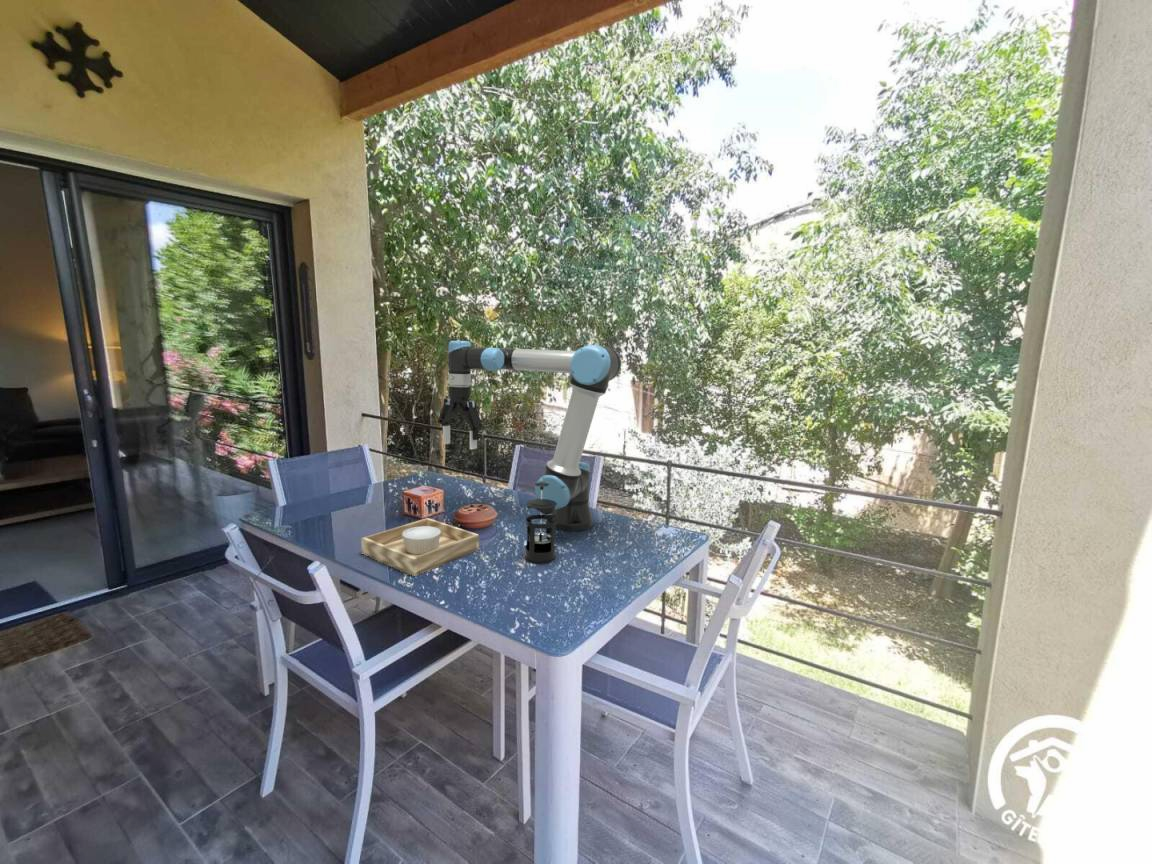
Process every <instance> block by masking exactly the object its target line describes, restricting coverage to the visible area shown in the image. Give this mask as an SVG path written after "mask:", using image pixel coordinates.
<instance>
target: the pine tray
mask: <svg viewBox="0 0 1152 864" xmlns="http://www.w3.org/2000/svg"><path fill="white" fill-rule="evenodd" d="M421 526H430V527H436V528H438V529H439V530H440V531H441V535H440V539H439V545H438V548H437V549H435V550H432V551H429V552H427V553H424V554H412V553H409V552H407V551H406V549H405V546H404V541H403V538H402V533H403V532H404V531H405V530H407V529H410V528H414V527H421ZM360 542H361V555H362V554H364V555H363V556H365V555H366V556H365V557H367V556H369V557H371V558H370V559H372V558H373V559H372V560H374V559H375V561H376V560H377V562H379V563H381V564H383V563H384V565H385V566H388V567H390V566H391V568H392V567H393V569H395V570H397V571H399V570H400V572H402V573H404V572H405V573H404V574H406V573H407V574H406V575H409V574H410V575H409V576H411V575H412V577H413V576H415V577H417V576H420V575H422V574H425V573H427V572H430V571H431V569H432V570H434V569H436V567H437V568H439V567H442V566H443V565H446V564H448V563H450V562H453V561H456V560H459V559H461V558H463V557H465V556H468V555H470V554H473V553H474V552H478V551H479V549H480V534H478V533H475V532H472V531H469V530H466V529H463V528H460V527H456V526H454V525H452V524H447V523H445V522H442V521H438V520H435V519H432V518H429V517H426V518H423V519H420V520H416V521H412V522H409V523H406V524H403V525H399V526H396V527H392V528H389V529H387V530H382V531H380V532H377V533H373V534H370V535H366V536H363V537H361V538H360ZM369 557H368V558H369ZM441 565H442V566H441ZM426 571H427V572H426ZM424 572H425V573H424ZM421 573H422V574H421ZM419 574H420V575H419Z"/></svg>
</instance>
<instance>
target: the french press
mask: <svg viewBox="0 0 1152 864" xmlns="http://www.w3.org/2000/svg"><path fill="white" fill-rule="evenodd" d="M534 486H535V487H536V486H540V490H541V499H538V498H536V499H531V500H528V501H526V503H525V505H526V506H527V511H529V510H530V509H535V510H537V511H539V512H540V514H533V515H528V516H527V517H526V518H525V525H526V545H525V548H524V558H523V559H524V560H525V561H526V562H527V563H530V564H534V563H535V565H544V564H543V563H547V564H549V563H548V562H551V561H553V560H554V561H555V560H556V559H555V558H557V556H556V545H555V539H556V538H555V536H556V532H555V531H556V528H555V525H556V518H555V515H552V513H553V512H555V506H556V505H557V503H556V502H555V501H552V500H547V499H542V490H543V487H544V486H549V484H548V483H545V482H538V483H537V482H535V483H534ZM532 520H540V521H539V522H540V523H533V522H532ZM543 520H546V523H544V524H542V522H543ZM536 529H539V531H540V532H538V531H537V532H536ZM543 529H545V532H543V531H542V530H543ZM554 561H553V562H554ZM551 563H552V562H551Z"/></svg>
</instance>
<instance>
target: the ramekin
mask: <svg viewBox="0 0 1152 864" xmlns="http://www.w3.org/2000/svg"><path fill="white" fill-rule="evenodd" d="M440 535H441V531H440V530H439V529H438V528H436V527H430V526H421V527H414V528H410V529H407V530H405V531H404V532H403V533H402V538H403V541H404V546H405V549H406V551H407V552H409V553H412V554H424V553H427V552H429V551H432V550H435V549H437V548H438V545H439V539H440Z"/></svg>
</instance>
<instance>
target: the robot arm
mask: <svg viewBox="0 0 1152 864" xmlns="http://www.w3.org/2000/svg"><path fill="white" fill-rule="evenodd" d="M447 350H448V351H447V356H448V357H447V358H448V359H447V360H448V385H449V386H448V388H447V391H448V398H444V399H443V404H442V407H441V410H440V413H439V416H438V418H437V424H440V426H441V434H442V444H443V445H448V444H451V424H450V423H451V421H452V419H453V417H454V416H455V415H456V413H458V414H461V415H462V416H463V417H464V418H465V421H466V422H467V424H468V425H469V428H470V430H469V450H475V449H476V450H477V449H478V440H479V431H480V430H482V429H483V428H484V426H483V423H482V420H481V417H480V414H479V411H478V409H477V401H475V400H472V401H470V399H469V398H471V395H472V394H471V388H472V387H470V386H471V384H472V380H471V377H472V376H471V374H472V371H471V370H478V371H488V372H493V371H495V372H496V371H500V370H508V371H509V370H510V371H526V372H527V371H529V372H541V373H542V372H544V373H545V372H546V373H562V374H571V378H570V381H569V384H570V387H571V388H572V392H571V395H570V399H569V402H568V405H567V408H566V413H565V416H564V419H563V423H562V426H561V430H560V434H559V437H558V440H557V445H556V448H555V451H554V454H553V457H552V459H550V460H548V461H547V462H546V465H545V469H544V472H543V476H540V477H539V479H538V480H537V482H536V483H538V482H545V483H548V484H549V486H544V487H543V490H542V499H547V500H552V501H555V502H556V503H557V505H556V506H555V512H553V513H551V515H555V518H556V525H555V529H557V528H558V529H557V530H561V529H562V530H561V531H566V530H569V531H570V532H577V531H576V530H581V531H585V530H584V529H586V530H588V529H587V528H589V529H590V527H591V526H592V525H593V524H594V517H593V516H592V515H593V514H592V511H591V506H590V503H589V502H590V483H591V480H590V479H591V465H590V463H588V462H586V461H585V462H584V461H581V458H582V455H583V451H584V448H585V446H586V442H587V440H588V439H587V438H588V435H589V433H590V429H591V426H592V422H593V420H594V416H595V412H596V408H597V406H598V403H599V399H600V397H602V396H603V395H605V394H606V393H607V389H608V385H609V382H610V381H612V380H614V379H615V378H616V377H617V376H618V374H620V371H621V367H622V360H621V356H620V354H619V353H618V351H617V350H616V349H614V348H613V347H610V346H608V345H599V344H587V345H585V346H583V347H579V348H578V349H577V350H561V349H560V350H557V349H529V348H510V347H507V348H506V347H503V348H502V347H501V348H500V347H499V348H498V347H490V346H489V347H474V346H472V342H470V341H469V340H468V341H467V340H451V341H449V342H448V349H447ZM534 489H535V491H534V493H535V497H536V499H541V490H540V486H536V485H535V488H534ZM592 527H593V526H592ZM592 527H591V528H592ZM569 531H568V532H569Z"/></svg>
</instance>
